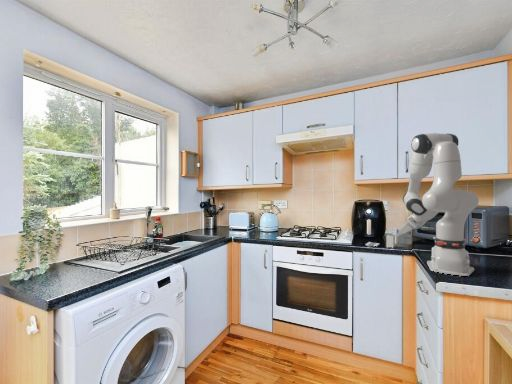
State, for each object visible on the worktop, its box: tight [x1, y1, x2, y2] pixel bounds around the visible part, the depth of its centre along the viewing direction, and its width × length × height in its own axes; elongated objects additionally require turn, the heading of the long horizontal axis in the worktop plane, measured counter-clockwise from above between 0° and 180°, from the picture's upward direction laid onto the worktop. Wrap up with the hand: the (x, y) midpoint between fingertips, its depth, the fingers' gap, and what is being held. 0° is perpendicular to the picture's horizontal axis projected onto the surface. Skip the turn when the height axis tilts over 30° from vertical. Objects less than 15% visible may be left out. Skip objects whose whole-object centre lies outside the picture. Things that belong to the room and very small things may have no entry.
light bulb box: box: [392, 227, 413, 245], centre depth 176 cm, size 11×7×11 cm, turn 84°
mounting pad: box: [365, 241, 380, 247], centre depth 173 cm, size 9×7×1 cm
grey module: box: [386, 234, 396, 249], centre depth 166 cm, size 4×4×8 cm
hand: (397, 234), depth 163 cm, fingers open, 8 cm apart
